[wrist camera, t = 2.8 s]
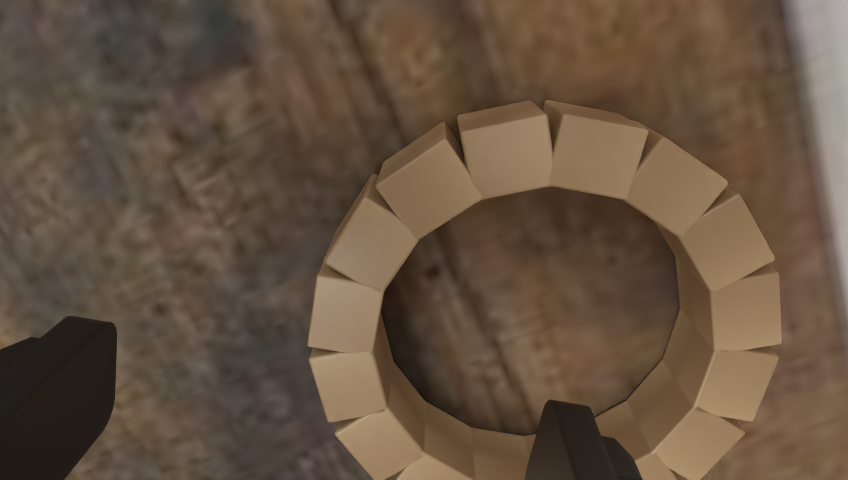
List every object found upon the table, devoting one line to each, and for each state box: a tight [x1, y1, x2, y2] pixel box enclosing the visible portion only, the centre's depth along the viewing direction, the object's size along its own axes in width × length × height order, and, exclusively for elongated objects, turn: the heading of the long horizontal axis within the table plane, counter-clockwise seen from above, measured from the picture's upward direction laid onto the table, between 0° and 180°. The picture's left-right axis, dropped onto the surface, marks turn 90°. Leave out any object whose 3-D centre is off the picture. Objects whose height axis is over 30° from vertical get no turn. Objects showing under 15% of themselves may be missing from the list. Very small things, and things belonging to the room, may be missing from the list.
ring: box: [307, 100, 782, 480], centre depth 17 cm, size 11×11×2 cm
